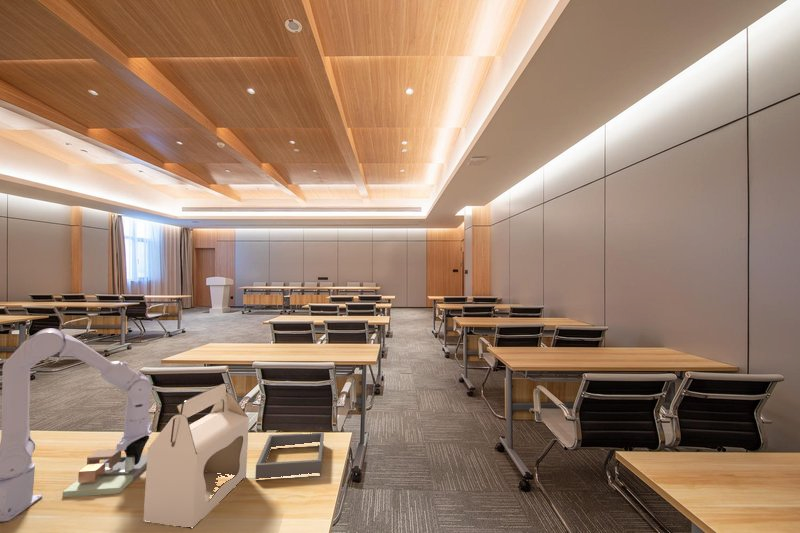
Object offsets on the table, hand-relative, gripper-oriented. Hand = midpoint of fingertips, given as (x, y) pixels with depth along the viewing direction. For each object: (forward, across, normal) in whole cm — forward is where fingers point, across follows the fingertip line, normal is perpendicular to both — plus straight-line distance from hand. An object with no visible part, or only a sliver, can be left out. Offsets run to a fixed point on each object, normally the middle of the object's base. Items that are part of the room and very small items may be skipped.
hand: (133, 463), depth 101 cm
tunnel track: (+3, -1, +5) cm, 6 cm away
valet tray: (+3, +1, -46) cm, 46 cm away
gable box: (+3, -14, -24) cm, 28 cm away
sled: (+1, -4, +4) cm, 6 cm away
